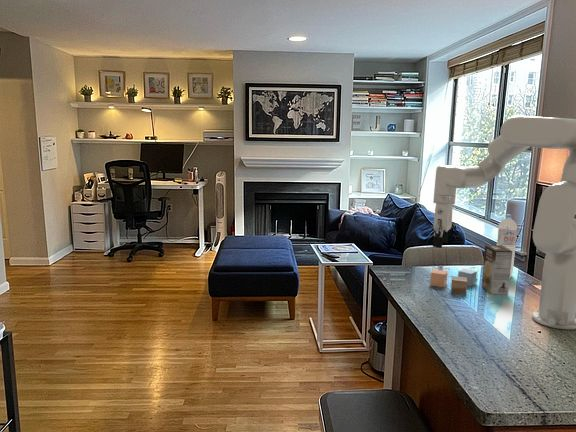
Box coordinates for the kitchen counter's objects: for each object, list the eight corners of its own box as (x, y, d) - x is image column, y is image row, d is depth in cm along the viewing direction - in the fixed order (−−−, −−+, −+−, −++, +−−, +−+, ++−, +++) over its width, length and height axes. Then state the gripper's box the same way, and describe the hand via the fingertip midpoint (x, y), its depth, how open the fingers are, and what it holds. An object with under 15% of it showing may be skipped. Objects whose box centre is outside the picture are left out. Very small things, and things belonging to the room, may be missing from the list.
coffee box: (480, 286, 167) (484, 244, 164) (497, 286, 167) (501, 244, 164) (491, 294, 158) (495, 250, 155) (509, 294, 158) (513, 250, 155)
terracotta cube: (443, 287, 165) (444, 274, 164) (430, 285, 168) (431, 272, 167) (446, 284, 169) (447, 271, 169) (433, 281, 172) (434, 269, 171)
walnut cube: (466, 295, 157) (467, 281, 156) (450, 293, 159) (452, 279, 158) (465, 290, 162) (466, 277, 161) (451, 289, 163) (452, 276, 163)
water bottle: (493, 276, 180) (499, 215, 176) (494, 271, 186) (499, 212, 182) (512, 278, 177) (518, 216, 173) (512, 274, 183) (518, 214, 179)
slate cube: (470, 286, 167) (471, 273, 166) (457, 283, 170) (458, 271, 169) (475, 283, 170) (476, 271, 169) (463, 280, 174) (464, 268, 173)
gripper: (450, 203, 154) (445, 251, 157) (459, 197, 169) (454, 241, 172) (428, 201, 158) (424, 247, 161) (438, 195, 173) (434, 238, 176)
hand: (440, 244), depth 166 cm, fingers open, 9 cm apart
